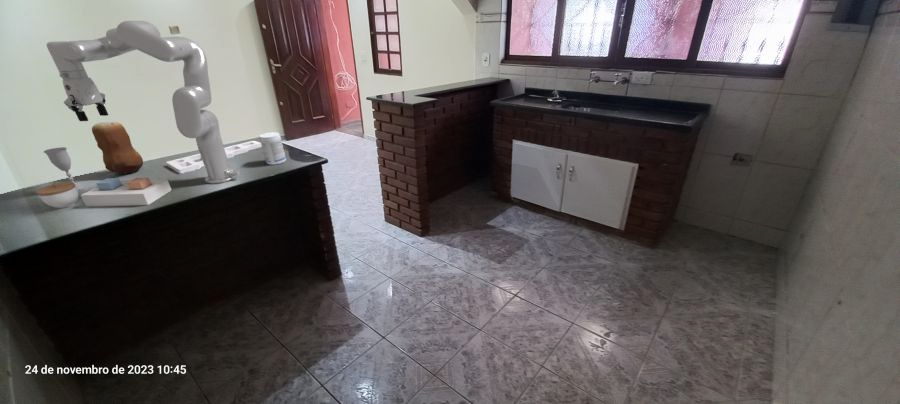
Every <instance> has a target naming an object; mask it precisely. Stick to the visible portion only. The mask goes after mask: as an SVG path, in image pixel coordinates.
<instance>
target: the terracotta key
mask: <svg viewBox="0 0 900 404" xmlns="http://www.w3.org/2000/svg"><path fill="white" fill-rule="evenodd" d="M150 180H151V179H150V178H149V177H135V178H133V179H130V180H128V181H129V182H127V184H128V186H129V189H144V188H146V187H147V186H149V185H151V182H150Z"/></svg>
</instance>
